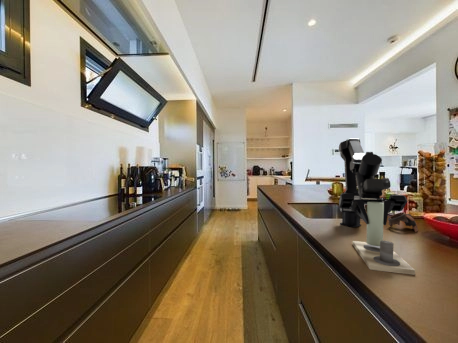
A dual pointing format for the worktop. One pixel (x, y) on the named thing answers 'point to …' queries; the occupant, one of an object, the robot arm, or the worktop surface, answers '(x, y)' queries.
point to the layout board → (379, 266)
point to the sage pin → (375, 223)
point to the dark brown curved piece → (405, 218)
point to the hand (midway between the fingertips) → (376, 224)
